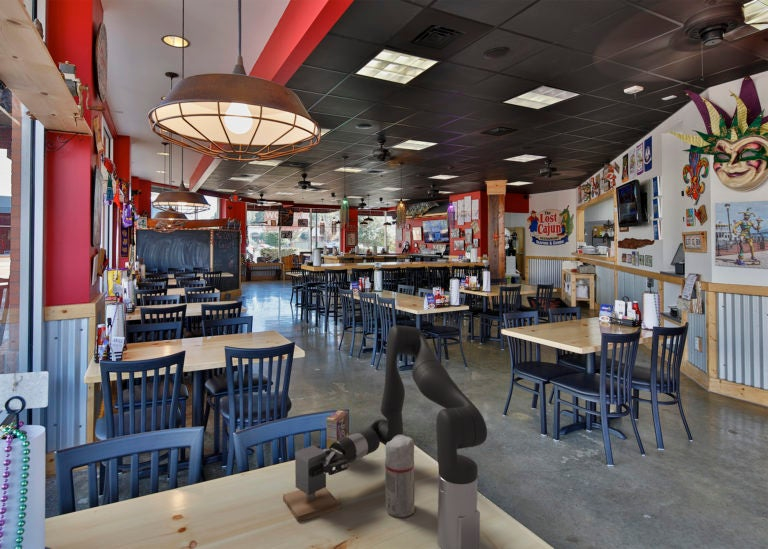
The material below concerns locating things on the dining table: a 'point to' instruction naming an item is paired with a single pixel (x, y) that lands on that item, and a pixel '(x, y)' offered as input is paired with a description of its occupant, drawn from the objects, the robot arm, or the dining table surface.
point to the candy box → (336, 427)
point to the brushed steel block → (304, 463)
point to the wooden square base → (310, 503)
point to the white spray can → (400, 476)
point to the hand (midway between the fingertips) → (303, 469)
